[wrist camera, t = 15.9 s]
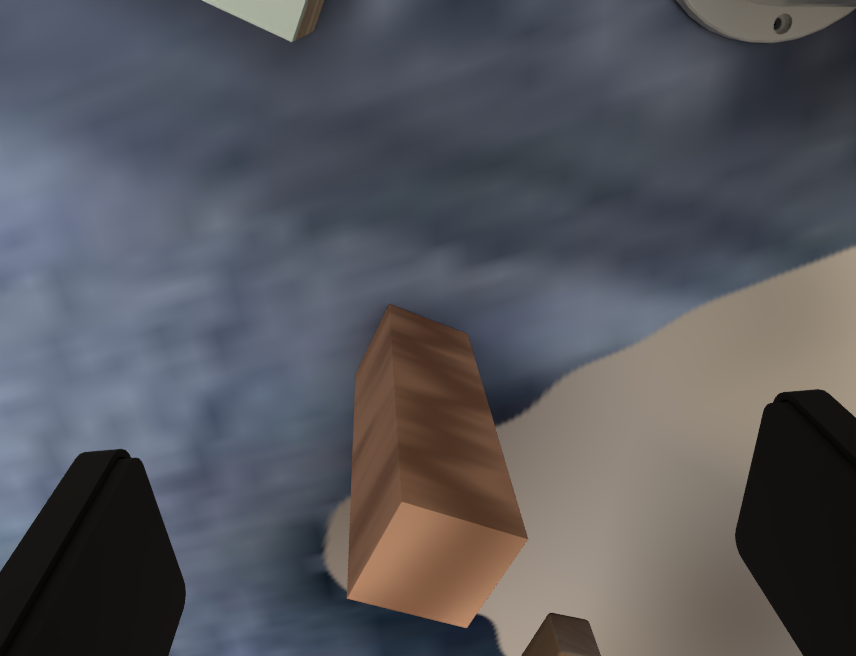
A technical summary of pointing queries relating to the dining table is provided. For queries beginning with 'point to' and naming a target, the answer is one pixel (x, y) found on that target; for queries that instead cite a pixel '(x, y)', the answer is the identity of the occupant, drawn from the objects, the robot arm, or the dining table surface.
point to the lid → (267, 14)
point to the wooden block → (563, 638)
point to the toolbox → (310, 18)
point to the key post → (427, 477)
